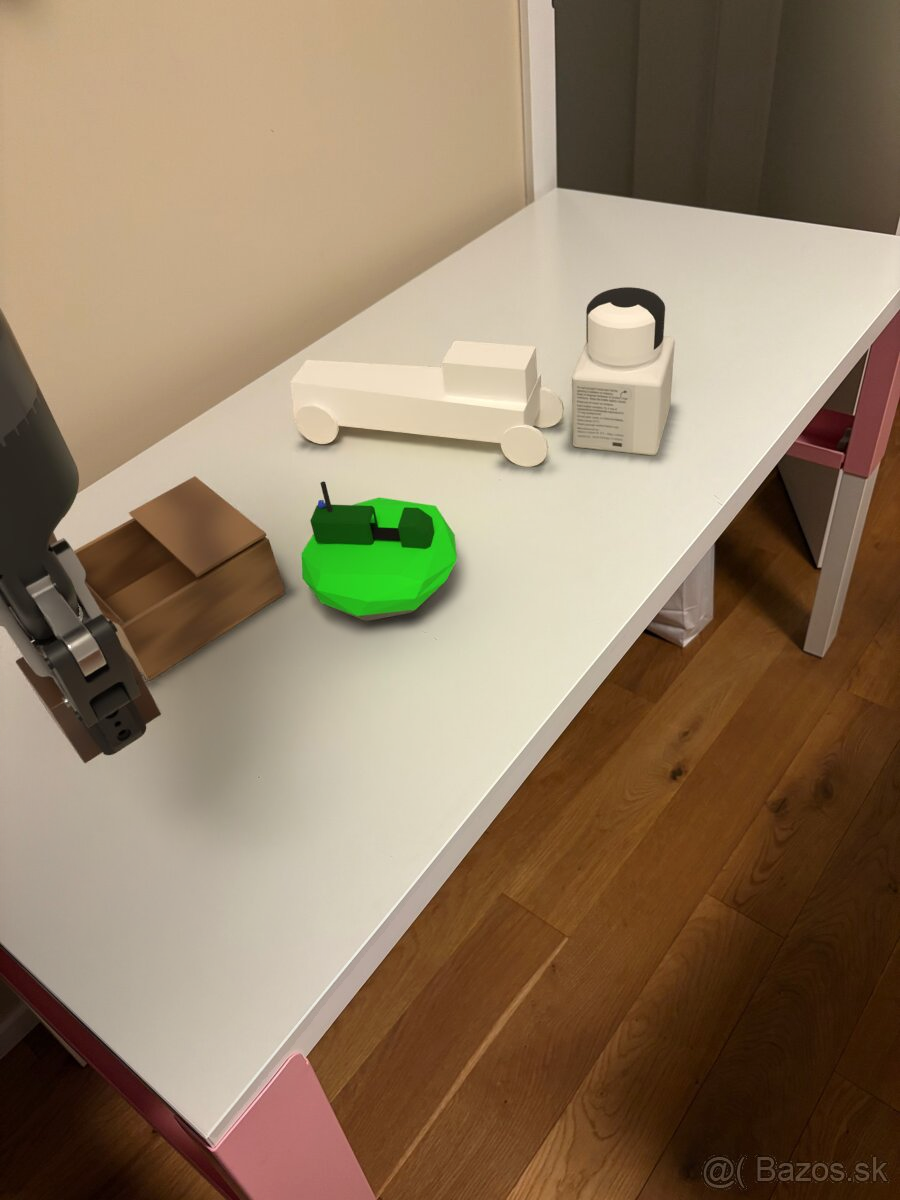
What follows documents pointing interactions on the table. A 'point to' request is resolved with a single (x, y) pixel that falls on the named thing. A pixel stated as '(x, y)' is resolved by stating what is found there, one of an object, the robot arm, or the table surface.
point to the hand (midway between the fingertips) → (102, 711)
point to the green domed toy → (377, 556)
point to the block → (65, 715)
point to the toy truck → (434, 399)
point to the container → (623, 374)
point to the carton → (180, 574)
